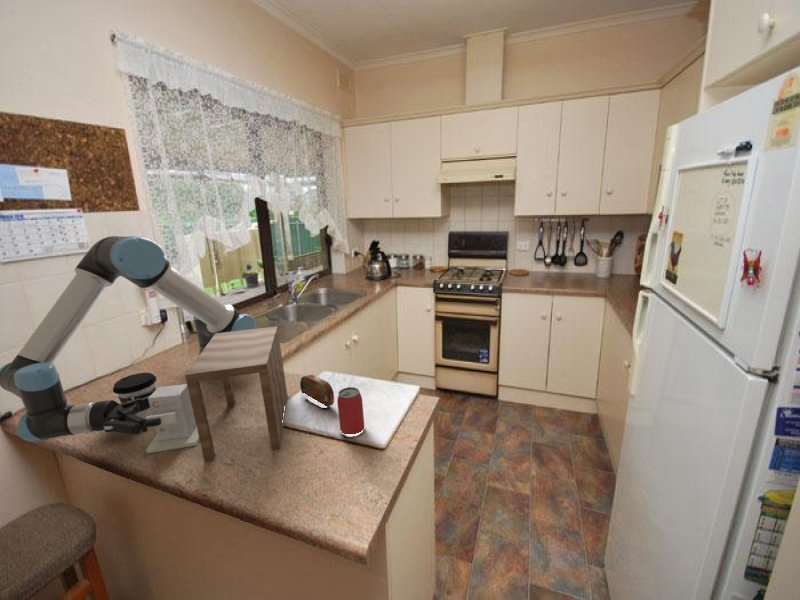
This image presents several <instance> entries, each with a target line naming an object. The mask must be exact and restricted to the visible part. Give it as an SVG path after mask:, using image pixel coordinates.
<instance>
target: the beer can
mask: <svg viewBox="0 0 800 600" xmlns="http://www.w3.org/2000/svg"><path fill="white" fill-rule="evenodd" d="M337 394H338V396H337V400H336V403H337V410H338V411H337V412H338V420H339V421H338V422H339V430H341V431H342V433H344V434H356V433H359V432H361V431H362V430H363V429H364V427H365V417H364V407H363V406H364V405H363V398H362V394H361V393H360V389H359V388H357V387H354V386H352V387H351V386H348V387H345V388H342V389H340V390H339V392H338V393H337ZM364 430H365V429H364ZM341 431H340V432H341Z"/></svg>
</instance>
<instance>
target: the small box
mask: <svg viewBox="0 0 800 600" xmlns="http://www.w3.org/2000/svg"><path fill="white" fill-rule="evenodd" d="M155 390H156V389H155ZM148 401H149V404H150V408H151V412H152V415H158V414H165V413H172V412H175V413H176V417H177V423H172V424H166V425H159V426H154V427H155V431H156V435H157V434H158V438H159V440H167V439H175V438H184V437H190V436H191V434H192V433H193V431H194V430H195V428H196V427H197V426H196V422H195V417H194V413H193V408H192V404H191V400H190V395H189V391H188V387H187V383H183V384H175V385H165V386H159V387H158V388H157V390H156V391H155V392H154V393H153V394H152V395H151V396H149V397H148Z"/></svg>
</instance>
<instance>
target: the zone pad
mask: <svg viewBox="0 0 800 600" xmlns="http://www.w3.org/2000/svg"><path fill="white" fill-rule="evenodd" d="M207 419H208V422H209V420H210V417H209V416H207ZM199 443H200V439H199V435H198V430H197V427H196V428H195V430H194V431H193V433H192V434H191V436H190V437H184V438H175V439H167V440H159V438H158V434H157V433H156V435H155V436H154V437H153V439H152V441H151V442H150V444H149V445H148V447H146V454H150V453H151V454H152V453H153V454H154V453H157V452H165V451H169V450H176V449H181V448H187V447H193V446H194V447H195V446H197V445H198V444H199Z"/></svg>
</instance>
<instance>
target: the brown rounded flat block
mask: <svg viewBox="0 0 800 600" xmlns="http://www.w3.org/2000/svg"><path fill="white" fill-rule="evenodd" d="M300 378H301V379H300V381H299V383H300V384H299V386H300V392H301V394H302V393H305V394H307V395H308V396H310V397H312V398H313V399H315V400H317V401H318V402H320V403H322V404H324V405H325V406H327V407H328V406H330V405H331V406H333V405H334V402H335V395H334V390H333V387H332V386H331V384H330V383H329V382H328V381H326V380H324V379H322V378H321V377H318V376H316V375H314V374H308V375H305V376H302V377H300ZM331 406H330V407H331ZM328 408H329V407H328Z"/></svg>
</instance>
